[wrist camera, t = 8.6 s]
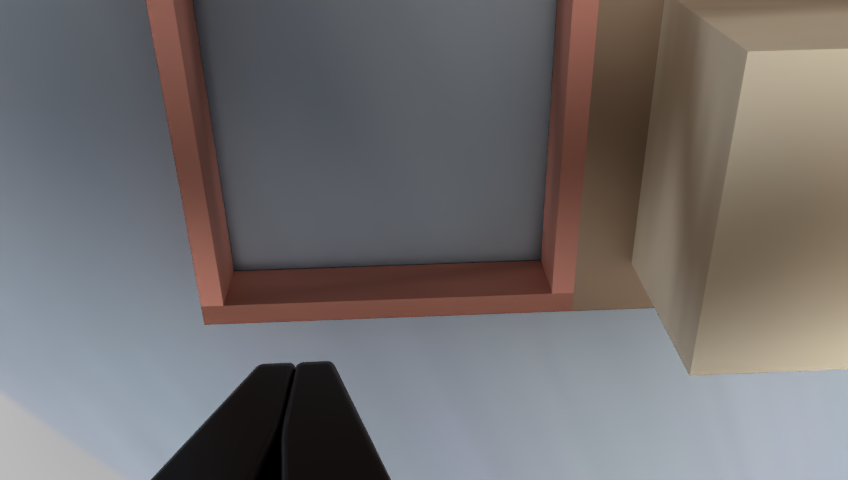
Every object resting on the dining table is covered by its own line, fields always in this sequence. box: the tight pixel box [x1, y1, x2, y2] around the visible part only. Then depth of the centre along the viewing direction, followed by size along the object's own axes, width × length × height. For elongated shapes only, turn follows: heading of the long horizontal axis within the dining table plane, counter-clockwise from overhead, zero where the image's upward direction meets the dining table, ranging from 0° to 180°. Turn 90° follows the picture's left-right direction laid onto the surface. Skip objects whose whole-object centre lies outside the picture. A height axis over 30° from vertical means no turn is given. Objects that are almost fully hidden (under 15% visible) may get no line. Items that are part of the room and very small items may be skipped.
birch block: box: [632, 0, 848, 376], centre depth 15 cm, size 6×6×4 cm
